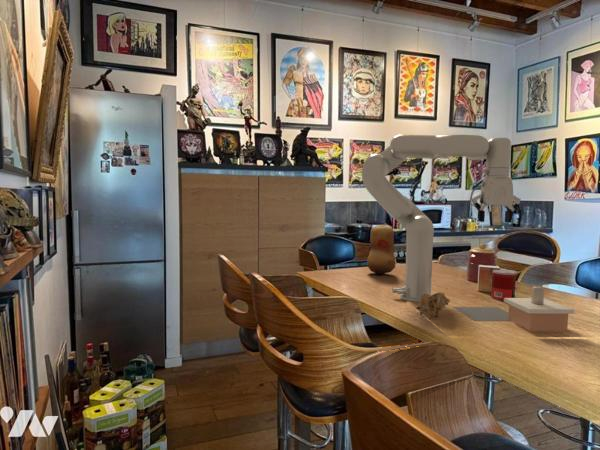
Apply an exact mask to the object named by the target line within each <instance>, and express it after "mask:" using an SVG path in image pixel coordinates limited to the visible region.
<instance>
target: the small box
mask: <svg viewBox="0 0 600 450" xmlns="http://www.w3.org/2000/svg"><path fill="white" fill-rule="evenodd" d="M493 270H501V267H500V266H499V265H497V266H486V265H479V270H478V282H477V291H478V292H486V293H491V291H492V272H493Z"/></svg>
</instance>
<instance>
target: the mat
mask: <svg viewBox="0 0 600 450" xmlns="http://www.w3.org/2000/svg"><path fill="white" fill-rule="evenodd" d="M452 308H453V309H455V310H457V311H458V312H460V313H462V314H463V315H464V316H466V317H467V318H469V319H471V320H473V321H474V322H511V321H510V320H508V315H509V311H506V310H504V309H503V308H500V307H497V306H452Z"/></svg>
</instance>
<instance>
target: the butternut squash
mask: <svg viewBox="0 0 600 450" xmlns="http://www.w3.org/2000/svg"><path fill="white" fill-rule="evenodd" d="M394 236H395V231H394V229H393V227H392V225H391V226H390V225H389V224H377V225H375V226H373V227H372V228H371V229H370V238H369V239H370V240H369V242H370V250H369V254H368V256H367V260H366V263H367V268H368V269H369V270H370V271H371V272H372V273H374V274H377V275H382V276H383V275H386V274H389V273H392V271H393V270H394V269H395V268H396V257H395V254H394V248H395V242H394V241H395V239H394V238H395V237H394Z"/></svg>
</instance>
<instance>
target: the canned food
mask: <svg viewBox="0 0 600 450" xmlns="http://www.w3.org/2000/svg"><path fill="white" fill-rule="evenodd" d="M516 280H517V272H515V271H512V270H508V269H506V270H505V269H500V270H493V272H492V291H491V292H490V293H491V295H490V296H491V299H493V300H494V299H495V300H498V301H503V302H504V298H516V297H515V296H516Z"/></svg>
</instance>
